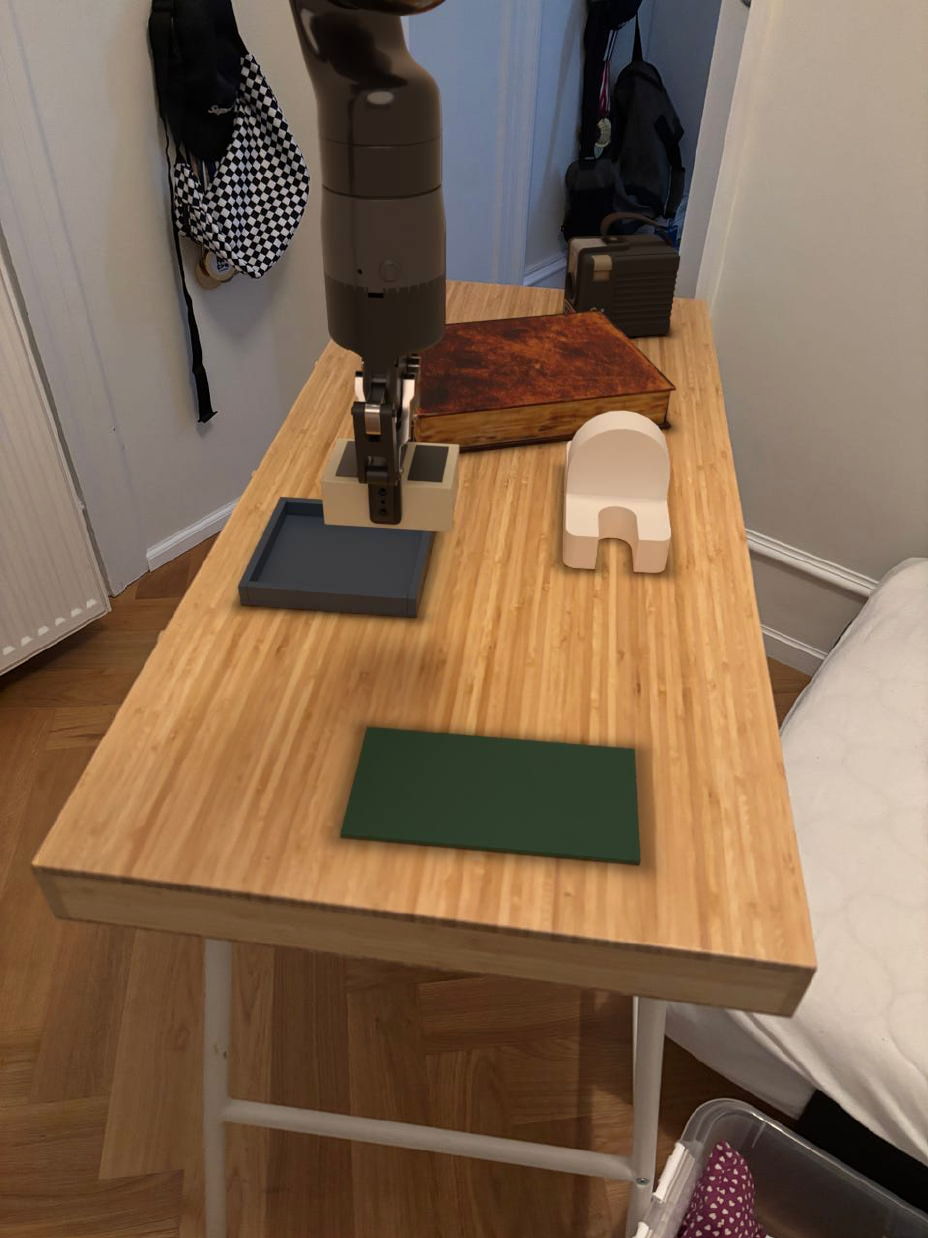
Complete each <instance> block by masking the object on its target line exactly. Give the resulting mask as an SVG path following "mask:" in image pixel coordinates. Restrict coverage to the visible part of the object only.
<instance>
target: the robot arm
mask: <svg viewBox="0 0 928 1238" xmlns="http://www.w3.org/2000/svg"><path fill="white" fill-rule="evenodd" d="M446 1H447V0H288V4H289V8H290V12H291V15H292V20H293V23H294V27H295V33H296V35H297V40H298V43H299V47H300V51H301V55H302V59H303V62H304V65H305V68H306V72H307V74H308V77H309V81H310V84H311V87H312V91H313V94H314V99H315V103H316V125H317V129H316V130H317V141H318V143H317V144H318V155H319V156H318V157H319V167H320V168H319V169H320V182H321V185H320V187H321V203H320V206H321V207H320V222H319V223H320V239H321V240H320V242H321V252H322V253H321V255H322V267H323V279H324V292H325V304H326V305H325V308H326V319H327V330H328V335H329V336H330V338H331V340H332V341H333V342H334V343H335V344H336V345H337V346H339V347H341V348H342V349H344V350H346V351H351V352H353V353H354V354H356V355H358V357H360V358H361V363H360V365H361V367H360V368H361V369H356V370H355V373H354V386H353V387H354V388H353V389H354V390H353V391H354V395H355V397H356V398H357V400H354V401H353V403H352V406H351V407H350V415H351V416H352V425H353V427H352V428H353V439H355V449H356V460H357V478H358V481H359V484H368V498H369V516H370V520H371V521H372V522H373V523H375V524H386V525H398V524H399V523H400V522H401V519H402V479H401V476H402V475H403V472H404V468H403V467H402V459H403V446H404V444H406V443H408V442H414V426H411V425H416V421H417V420H418V414H416V409H417V408H418V407H419V405H420V400H421V386H420V379H421V371H422V360H421V357H419V352H422V351H424V350H427V349H429V348H431V347H433V346H434V345H436V344H437V343H438V342H439V341H440V340H441V339H442V338H443V336H444V334H445V330H446V324H447V221H446V220H447V219H446V211H445V210H446V209H445V202H444V194H443V107H442V97H441V91H440V88H439V85H438V82H437V81H436V79H435V77H434V76H433V75H432V74H431V73H430V72H429V71H428V70H427V69H425V68H424V67H423V66H422V65H421V64H419V63H418V62H417V61H416V60H415V59H414V57H413V56H412V55H411V53H410V50H409V49H408V47H407V43H406V39H405V33H404V29H403V28H404V27H403V23H402V22H403V21H402V17H412V16H420V15H423V14H426V13H428V12H430V11H433V10H434V9H436V8H438V7H439V6H441V5H442V4H443V3H445V2H446ZM374 457H384V458H386V459H387V461H383V460H373V458H374Z"/></svg>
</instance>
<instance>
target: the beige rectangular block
mask: <svg viewBox="0 0 928 1238" xmlns="http://www.w3.org/2000/svg"><path fill="white" fill-rule="evenodd" d="M373 460H383V461H387V459H386V458H384V457H374V458H373ZM402 467H403V468H404V472H403V475H402V476H401V479H402V519H401V522H400V523H399V524H398V525H386V524H375V523H373V522H372V521H371V520H370V516H369V498H368V484H359V481H358V478H357V460H356V449H355V438H347V437H337V439H336V441H335V443H334V447H333V448H332V452H331V454H330V457H329V459H328V462H327V464H326V467H325V469H324V471H323V474H322V476H321V479H320V488H321V499H322V501H323V511H324V522H325V524H327V525H343V526H360V527H376V528H392V529H408V530H425V531H436V532H441V533H442V532H443V533H451V532H452V528H453V523H454V517H455V511H456V505H457V499H458V493H459V487H460V484H459V483H460V453H459V445H457V444H439V443H421V442H408V443H406V444H404V446H403V459H402Z"/></svg>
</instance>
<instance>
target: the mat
mask: <svg viewBox="0 0 928 1238" xmlns="http://www.w3.org/2000/svg"><path fill="white" fill-rule="evenodd" d="M636 766H637V765H636V750H635V748H630V747H629V748H628V747H619V746H618V747H616V746H606V745H593V744H583V743H581V744H580V743H569V742H559V741H558V742H555V741H546V740H544V741H543V740H534V739H533V740H532V739H521V738H508V737H507V738H506V737H495V736H486V735H485V736H484V735H483V736H482V735H473V734H459V733H450V732H449V733H447V732H436V731H423V730H414V729H413V730H411V729H399V728H386V727H375V726H374V727H373V726H367V727H366V731H365V734H364V738H363V743H362V746H361V751H360V754H359V758H358V762H357V765H356V770H355V774H354V778H353V781H352V786H351V790H350V794H349V797H348V802H347V806H346V809H345V810H346V811H345V813H344V818H343V822H342V826H341V830H340V832H339V833H340V838H346V839H347V838H349V839H357V840H358V839H359V840H369V841H379V842H380V841H381V842H390V843H403V844H413V845H422V846H423V845H425V846H435V847H445V848H446V847H447V848H458V849H469V850H478V851H479V850H480V851H489V852H490V851H491V852H499V853H511V854H523V855H533V856H544V857H557V858H566V859H567V858H568V859H577V860H588V861H600V862H611V863H622V864H633V865H640V864H641V846H640V845H641V844H640V843H641V842H640V826H639V825H640V824H639V823H640V821H639V808H638V807H639V804H638V787H637V786H638V785H637V768H636Z"/></svg>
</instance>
